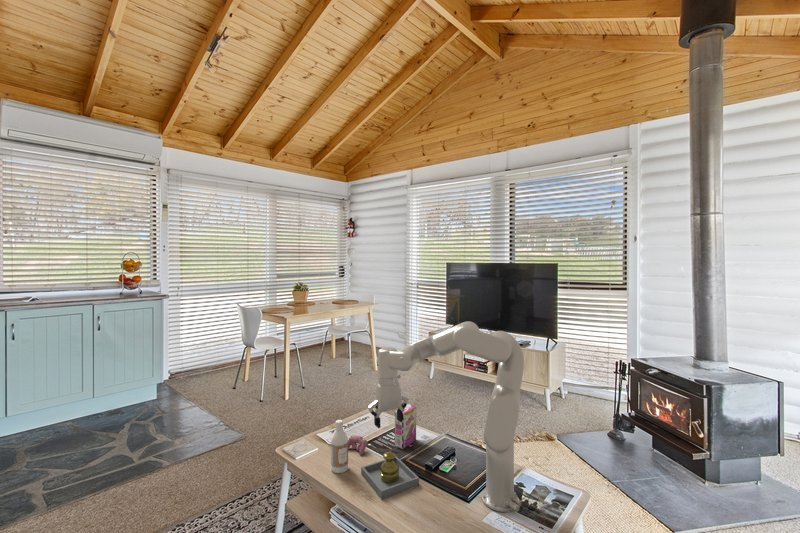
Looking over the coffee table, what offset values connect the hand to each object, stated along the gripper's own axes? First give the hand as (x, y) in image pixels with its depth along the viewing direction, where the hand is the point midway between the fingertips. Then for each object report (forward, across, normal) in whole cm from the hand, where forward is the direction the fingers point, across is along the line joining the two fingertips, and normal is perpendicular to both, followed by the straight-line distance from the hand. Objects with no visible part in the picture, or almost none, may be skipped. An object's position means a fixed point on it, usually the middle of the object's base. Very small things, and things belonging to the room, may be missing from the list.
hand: (388, 423), depth 145 cm
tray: (+22, 0, 0) cm, 22 cm away
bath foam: (+22, +14, -17) cm, 31 cm away
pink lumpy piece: (+22, +2, -27) cm, 35 cm away
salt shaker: (+22, 0, 0) cm, 22 cm away
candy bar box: (+22, -20, -21) cm, 37 cm away
